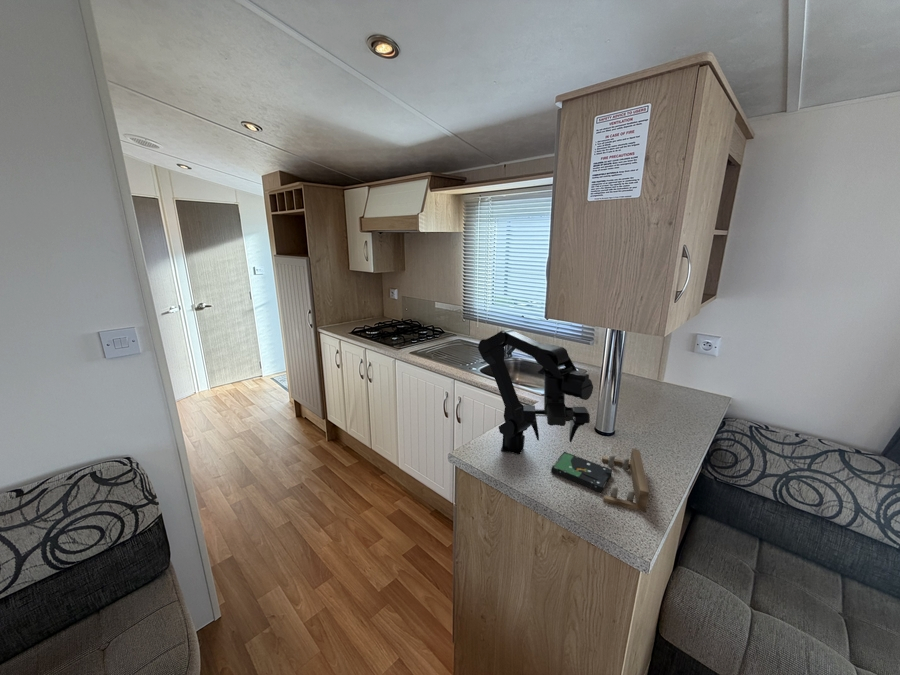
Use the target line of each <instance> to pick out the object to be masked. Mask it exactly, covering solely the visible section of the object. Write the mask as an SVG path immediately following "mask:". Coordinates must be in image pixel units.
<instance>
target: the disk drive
mask: <svg viewBox="0 0 900 675" xmlns="http://www.w3.org/2000/svg"><path fill="white" fill-rule="evenodd" d="M550 470H551V471H550V473H551V474H553V475H556V476H558V477H560V478H563V479H565V480H568V481H569V482H572V483H573V484H574V483H575V484H576V485H579V484H580V486H581V487H584V488H586V487H587V488H586V489H588V490H591V491H593V492H595V493H599V494H600V493H601V494H602V493H603V491H604V490H605V488H606V486H607V484H608V483H609V481H610V479H611V477H612V472H613V469H612V468H611V469H610V467H607V466H604V465H601V464H598V463H596V462H592V461H590V460H588V459H585V458H582V457H579V456H576V455H575V454H571V453H570V452H569V453H568V452H566V451H563V452H562V454H561V455H559V457H558V458H557V460H556V461H555V462H554V464H552V467H551V468H550Z"/></svg>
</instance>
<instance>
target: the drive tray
mask: <svg viewBox="0 0 900 675" xmlns="http://www.w3.org/2000/svg"><path fill="white" fill-rule="evenodd" d="M630 453H631V454H630V458H629V457H626V456H624V457H623V458H622V459H617V458H615V457H616V456H615V455H614V454H613V453H612V454H609V455H608V457H607V456H601V463H606V464H607V466H608V468H614V465H616V466H621V469H622V470H623V471H628V469H629V471H630V478H631V482H632V489H630V488H628V490H627V496H626V499H622V498H618V493H619V487H618V486H617V485H613V484H612V486H611V490H610V496H609V495H605V494H603V498H602V499H603V502H604V503H607V504H611V505H614V506H619V507H624V508H627V509H630V510H635V511H639V512H643V513H646V511H647V507H648V501H649V495H650V491H649V490H650V489H649V486H648V481H647V477H646V471H645V468H644V463H643V459H642V455H641V450H640V449H637V448H632V449H631V452H630ZM634 500H635V501H634Z"/></svg>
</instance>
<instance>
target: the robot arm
mask: <svg viewBox="0 0 900 675" xmlns="http://www.w3.org/2000/svg"><path fill="white" fill-rule="evenodd" d="M507 346H510V347H512V348H514V349H516V350H518V351H519V352H521V353H524V354H526V355H528V356H530V357H532V358H533V359H534V360H535V361H536V363H537V364H538V365H539V366H541V369H539V370H537V374H539V375H543V378H544V379H543V381H544V383H543V385H544V386H543V394H544V395H543V396H544V397H543V399H544V400H543V401H544V402H543V407H544V408H543V409H538V408H537V409H536V406H535V405H531V404H530V405H529V404H523V403H522V402H521V401H520V400H519V397H518V394H517V392H516V389H515V387H514V384H513V381H512V378H511V376H510V373H509V371H508V368H507V365H506V362H505V358H506V357H505V356H506V348H505V347H507ZM477 349H478V352H479V354H480V356H481V358H482V359H483V361H485V363H487V364H488V365H489V366H490V368H491V372H492V375H493V378H494V380H495V383H496V386H497V388H498V391H499V394H500V396H501V399H502V402H503V405H504V411H503V418H504V419H503V420H504V423H502V424H500V425H499V426H498V430H499V433H500V435H501V434H502V444H501V448H500V451H502V452H506V453H509V454H510V453H512V454H516V455H521V453H522V451H523V450H524V448H525V439H526V438H525V435H524V431H525V432H526V431H527V430H528V428H530V427H532V429H533V431H534V435H535V437H536V440H537V441H539V440H540V434H539V426H538V421H537V417H546V422H547V425H549V426H560V427H565V426H566V422H570V423H569V424H570V425H569V434H568V435H569V436H568V438H569V442H570V443H572V441H573V439H574V437H575V434H576V432H577V430H578V429H579V427H581V426H585V425H586V424H589V423H590V422H591V421H590V420H591V418H590V413H589V410H588V409H587V407H585V406H572V407H571V406H570V407H569V406H566V402H565V398H566V396H569V397H572V398H577V399H579V400H584V401H588V400H589V399H590V398H591V396H592V394H593V390H594V384H593V381H592V380H591V379H590V378H589V377H590V375H589V373H581V372H577V370H578V369H577V368H576V366H575V364H574V362H573V361H572V359H571V358H570V356H569V353H568V350H567V349H566V348H565V347H563V346H559V345H555V344H548V343H547V344H545V343H541V342H540V341H536V340H534V339H533V338H530V337H528V336H526V335H523V334H521V333H519V332H516V331H515V330H514V329H512V328H508V329H503V330H500V331H499V332H498V333H496V334H494V335H492V336H490V337H488V338H484V339H483V338H482V339H480V341H479V343H478V346H477ZM562 367H563V368H562ZM559 368H560V369H559Z"/></svg>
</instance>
